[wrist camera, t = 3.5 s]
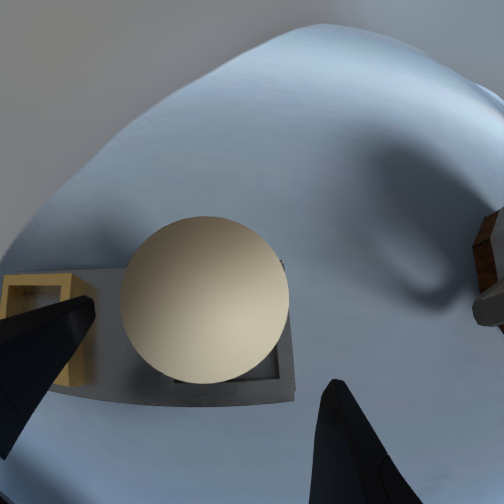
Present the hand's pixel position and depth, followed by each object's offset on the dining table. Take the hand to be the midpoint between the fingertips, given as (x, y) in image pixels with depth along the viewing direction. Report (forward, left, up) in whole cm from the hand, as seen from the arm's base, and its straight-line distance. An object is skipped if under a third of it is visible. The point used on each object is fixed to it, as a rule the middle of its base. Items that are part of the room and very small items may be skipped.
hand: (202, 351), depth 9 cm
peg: (+1, -1, -8) cm, 8 cm away
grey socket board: (+4, +4, -9) cm, 11 cm away
